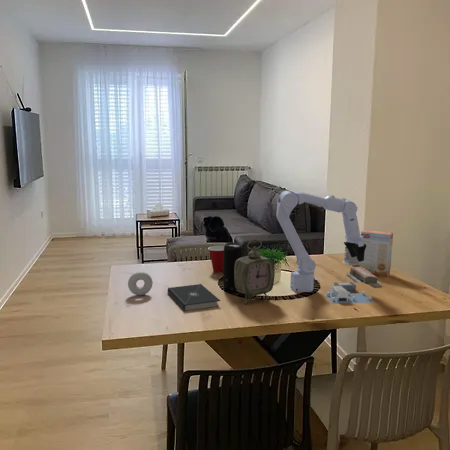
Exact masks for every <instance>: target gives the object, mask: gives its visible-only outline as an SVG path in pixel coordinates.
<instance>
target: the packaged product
mask: <svg viewBox="0 0 450 450" xmlns="http://www.w3.org/2000/svg"><path fill="white" fill-rule="evenodd" d="M346 276H347V277H348V278H349V279H350V280H352V281H353V283H364V284H367V285H369V286H370V287H383V283H381V282H379V281H378V280H379V278H378V276H377V275H373V274H371V273H370V272H369V271H367V270H366V269H365V268H363V267H359V266H351V267H350V269H349V272H346Z"/></svg>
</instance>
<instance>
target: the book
mask: <svg viewBox="0 0 450 450" xmlns="http://www.w3.org/2000/svg"><path fill="white" fill-rule="evenodd" d="M167 294H168V296H169V297H170V298H171V299H172V300H173V301H174V302H175V304H177V306H179V307H180V309H182V311H183V312H186V311H190V310H196V309H197V310H198V309H204V308H205V309H206V308H210V307H218V302H221V300H220V299H219V298H218V297H217V296H216V295H215V294H213V293H212V292H211V291H210V290H208V289H207V287H205V286H204V285H203V284H202V283H199V284H191V285H183V286H173V287H172V286H171V287H168V288H167Z"/></svg>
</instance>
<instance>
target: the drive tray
mask: <svg viewBox="0 0 450 450" xmlns="http://www.w3.org/2000/svg"><path fill="white" fill-rule="evenodd" d="M348 292H349V294H348V302H336V301H335V297H331V296H330V292H329V291H328V292H326V293H324V294H323V295H324V296H325V297H326V298H327V299H328V301H330V302H331V303H332V304H335V305H336V304H361V303H362V304H365V303H366V304H367V303H375V301H374V300H373V299H372V296H371V295H370V296H368V295H367V294H366V291H365V290H363V291H362V292H358V293H351V291H348Z"/></svg>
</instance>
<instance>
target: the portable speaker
mask: <svg viewBox="0 0 450 450" xmlns="http://www.w3.org/2000/svg"><path fill="white" fill-rule="evenodd" d="M223 246H224V254H223V272H222V280H223V281H222V282H223V289H225V290H226V289H229V290H230V291H232V292H237V290H236V287H235V282H234V268H235V262H236V260H237V259H239V258H241V257H244V250H243V249H244V246H243V243H234V242H226V243H225V244H224V245H223Z"/></svg>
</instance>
